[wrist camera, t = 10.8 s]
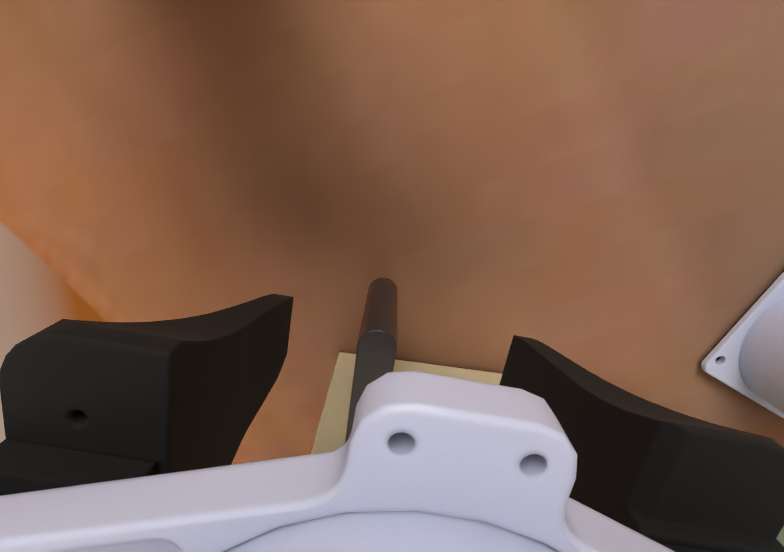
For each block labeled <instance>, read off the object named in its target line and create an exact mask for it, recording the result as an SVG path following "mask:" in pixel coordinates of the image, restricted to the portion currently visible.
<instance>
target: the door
mask: <svg viewBox="0 0 784 552" xmlns="http://www.w3.org/2000/svg"><path fill="white" fill-rule="evenodd" d="M396 350H397V287H396V285H395V283H394V282H393V281H391V280H390V279H387V278H378V279H376V280H374V281H373V282H372V283H371V284H370V286H369V290H368V295H367V300H366V305H365V310H364V315H363V320H362V325H361V329H360V334H359V339H358V344H357V352H356V354H350V353H343V352H339V354H338V358H337V361H336V365H335V368H334V372H333V375H332V379H331V382H330V386H329V389H328V393H327V396H326V400H325V403H324V407H323V411H322V414H321V418H320V421H319V425H318V428H317V432H316V435H315V439H314V442H313V446H312V449H311V453H310V454H316V453H324V452H331V451H335V450H337V449H339V448H340V447H342V446H343V445H344V444H345V443H346V442H347V440H348V439H349V437H350V434H351V431H352V427H353V422H354V416H355V410H356V405H357V403H358V401H359V399H360V397H361V395H362V394H363V392H364V390H365V388H366V386H367V385H368V384H370V383H371V382H373V381H375V380H376V379H378V378H380V377H381V376H383V375H385V374H386V373H388V372H403V371H418V372H424V373H430V374H436V375H442V376H448V377H453V378H459V379H465V380H471V381H477V382H483V383H489V384H495V385H499V384H500V381H501V377H502V374H500V373H493V372H485V371H478V370H470V369H463V368H455V367H448V366H440V365H433V364H425V363H418V362H410V361H403V360H395V357H396Z"/></svg>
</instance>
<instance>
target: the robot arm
mask: <svg viewBox="0 0 784 552" xmlns="http://www.w3.org/2000/svg"><path fill="white" fill-rule="evenodd" d="M292 305H293V297H290V296H284V295H278V294H270V295H266V296H263V297H260V298H257V299H254V300H251V301H249V302H246V303H243V304H240V305H237V306H234V307H230V308H227V309H223V310H220V311H216V312H213V313H209V314H204V315H200V316H194V317H189V318H183V319H174V320H164V321H154V322H95V321H80V320H67V319H62V320H60V321H58V322H57V323H55V324H53V325H51V326H49V327H47V328H45V329H44V330H42V331H40V332H38V333H36V334H35V335H33V336H31V337H29V338H27V339H26V340H23V341H22V342H20V343H18V344H16V345H15V346H14V347H13V348H12V349H11V351H10V352H9V353H8V354H7V355H6V356H5V359H4V361H3V364H2V366H1V369H0V393H1V401H2V410H3V418H4V426H5V435H6V438H7V439H5V440H4V441H3V442H1V443H0V552H784V546H783V545H782V544H781V543H780V542H779V541H778V540H777V539H776V538H777V536H778V534H779V533H780V531H781V529H782V528H783V526H784V448H783V447H782V446H780V445H779V444H778V443H777V442H775V441H774V440H773V439H770V438H767V437H763V436H759V435H755V434H751V433H747V432H743V431H739V430H735V429H731V428H727V427H723V426H719V425H716V424H712V423H709V422H706V421H703V420H700V419H696V418H693V417H690V416H687V415H684V414H681V413H678V412H675V411H672V410H670V409H667V408H665V407H662V406H660V405H657V404H654V403H652V402H649V401H647V400H645V399H642V398H640V397H638V396H635V395H633V394H631V393H629V392H627V391H625V390H623V389H621V388H619V387H616V386H615V385H613V384H611V383H609V382H607V381H605V380H603V379H601V378H600V377H598V376H596V375H594V374H593V373H591V372H589V371H587V370H586V369H584V368H582V367H581V366H579V365H578V364H576V363H574V362H573V361H571V360H569V359H568V358H566V357H565V356H563V355H562V354H560V353H558V352H557V351H555V350H554V349H552V348H550V347H549V346H547V345H545V344H543V343H541V342H539V341H537V340H535V339H532V338H526V337H521V336H515V335H514V336H513V340H512V343H511V347H510V350H509V353H508V357H507V360H506V364H505V367H504V370H503V374H502V377H501V381H500V384H499V385H495V384H489V383H483V382H477V381H471V380H465V379H459V378H453V377H448V376H442V375H436V374H430V373H424V372H418V371H403V372H388V373H386V374H385V375H383V376H381V377H380V378H378V379H376V380H375V381H373V382H371V383H370V384H368V385H367V386H366V388H365V390H364V392H363V394H362V395H361V397H360V399H359V401H358V403H357V405H356V410H355V416H354V422H353V427H352V431H351V434H350V437H349V439H348V440H347V442H346V443H345V444H344V445H343V446H342V447H340V448H339V449H337V450H335V451H331V452H324V453H316V454H309V455H301V456H294V457H286V458H279V459H271V460H264V461H256V462H249V463H241V464H234V465H231V463H232V461H233V459H234V457H235V454H236V452H237V450H238V447H239V445H240V443H241V441H242V439H243V437H244V435H245V433H246V431H247V429H248V427H249V426H250V424H251V422H252V421H253V419H254V417H255V416H256V414H257V412H258V410H259V409H260V407H261V405H262V404H263V402H264V400H265V399H266V397H267V395H268V393H269V392H270V390H271V388H272V387H273V385H274V383H275V381H276V380H277V378H278V375H279V373H280V370H281V368H282V365H283V363H284V360H285V358H286V355H287V348H288V339H289V331H290V322H291V314H292ZM718 357H720V358H719V359H718V360H717V361H716V359H717V358H718ZM701 368H702V369H703V370H704V371H705V372H706V373H708V374H709V375H711V376H713V377H714V378H716V379H718V380H719V381H721V382H723V383H724V384H726V385H728V386H729V387H731V388H733V389H735V390H736V391H738V392H740V393H741V394H743V395H745V396H746V397H748V398H750V399H751V400H753V401H755V402H756V403H758V404H760V405H761V406H763V407H765V408H767V409H768V410H770V411H772V412H773V413H775V414H777V415H778V416H780V417H782V418H783V419H784V272H783V273H782V274H781V275H780V276H779V277H778V278H777V280H776V281H775V282H774V283H773V284H772V285H771V286H770V287H769V288H768V289H767V291H766V292H765V293H764V294H763V295H762V296H761V297H760V298H759V299H758V300H757V302H756V303H755V304H754V305H753V306H752V307H751V308H750V309H749V310H748V311H747V313H746V314H745V315H744V316H743V317H742V318H741V319H740V320H739V321H738V322H737V324H736V325H735V326H734V327H733V328H732V329H731V330H730V331H729V332H728V333H727V335H726V336H725V337H724V338H723V339H722V340H721V341H720V342H719V343H718V344H717V346H716V347H715V348H714V349H713V350H712V351H711V352H710V353H709V354H708V355H707V357H706V358H705V359H704V360H703V361H702V363H701Z"/></svg>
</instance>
